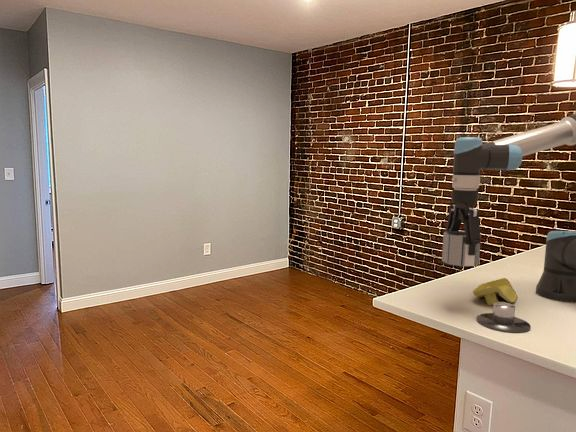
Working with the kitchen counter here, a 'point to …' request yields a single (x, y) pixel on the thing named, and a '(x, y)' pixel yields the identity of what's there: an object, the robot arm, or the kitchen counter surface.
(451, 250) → the collar
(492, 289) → the plastic component
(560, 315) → the kitchen counter surface
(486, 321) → the duct stub
